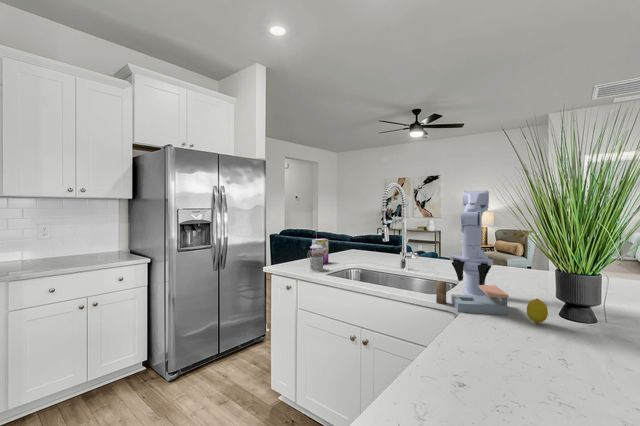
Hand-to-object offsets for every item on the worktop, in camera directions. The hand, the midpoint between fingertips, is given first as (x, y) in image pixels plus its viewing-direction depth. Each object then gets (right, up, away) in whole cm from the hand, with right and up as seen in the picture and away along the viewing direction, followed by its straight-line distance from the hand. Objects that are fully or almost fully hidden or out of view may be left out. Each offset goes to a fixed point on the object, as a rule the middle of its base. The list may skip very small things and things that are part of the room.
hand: (470, 282), depth 111 cm
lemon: (+15, -10, -13) cm, 22 cm away
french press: (-57, -9, +75) cm, 94 cm away
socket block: (+4, -10, +3) cm, 11 cm away
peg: (-7, -10, +9) cm, 15 cm away
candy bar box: (-54, -9, +97) cm, 111 cm away
